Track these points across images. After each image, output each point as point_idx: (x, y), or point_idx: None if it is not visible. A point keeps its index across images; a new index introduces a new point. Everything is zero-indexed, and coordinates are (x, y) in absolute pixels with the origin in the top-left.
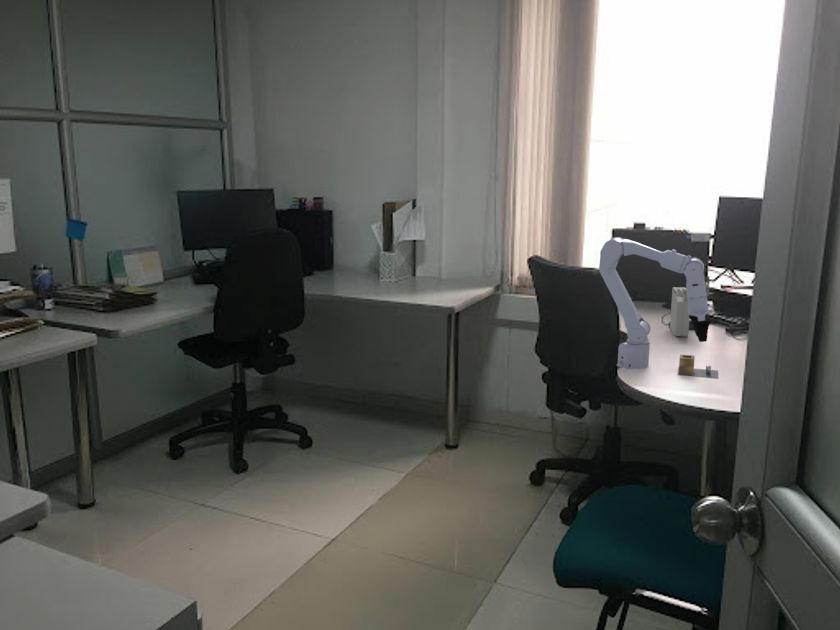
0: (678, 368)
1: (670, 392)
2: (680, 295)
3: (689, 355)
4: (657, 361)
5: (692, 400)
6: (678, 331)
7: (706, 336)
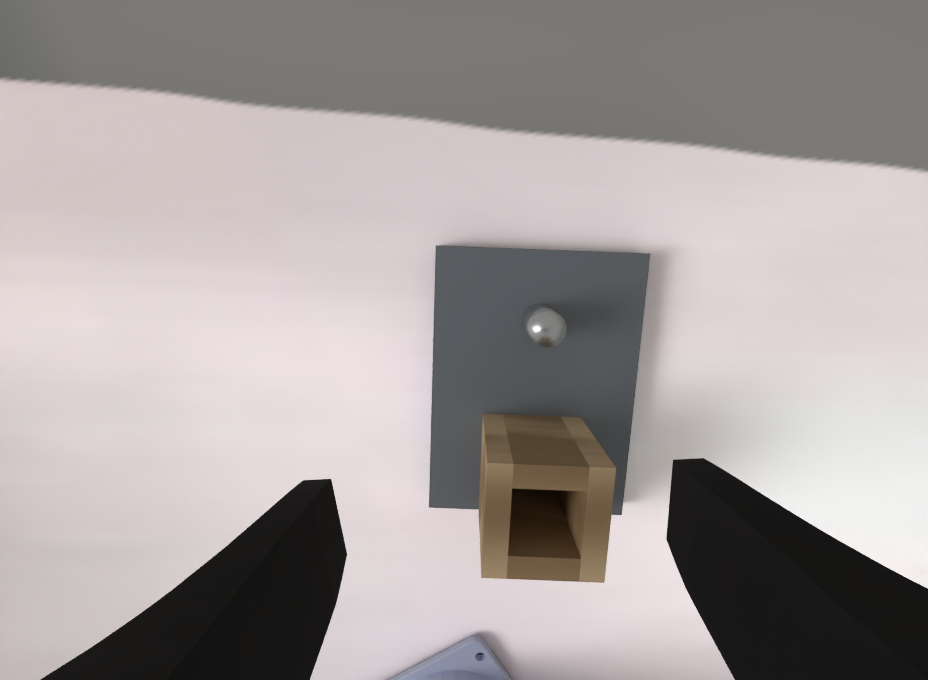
0: (460, 507)
1: (920, 539)
2: None
3: (500, 505)
4: None
5: None
6: None
7: (764, 504)
